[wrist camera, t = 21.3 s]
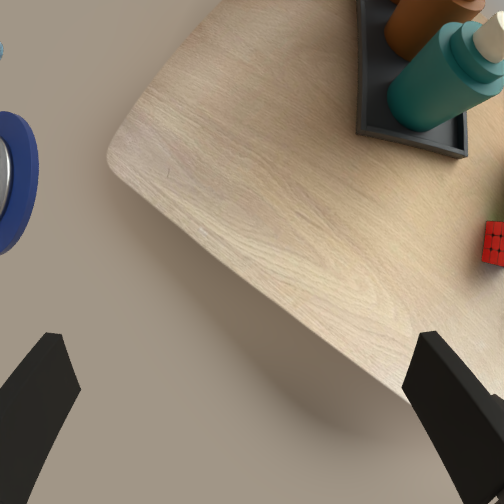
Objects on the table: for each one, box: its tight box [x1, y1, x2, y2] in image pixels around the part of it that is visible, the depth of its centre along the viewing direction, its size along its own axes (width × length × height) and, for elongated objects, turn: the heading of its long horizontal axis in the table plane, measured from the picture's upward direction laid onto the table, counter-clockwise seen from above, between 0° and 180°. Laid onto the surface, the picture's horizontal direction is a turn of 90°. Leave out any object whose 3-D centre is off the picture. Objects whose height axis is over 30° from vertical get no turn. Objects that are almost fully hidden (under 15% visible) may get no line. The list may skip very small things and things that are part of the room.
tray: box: [356, 0, 468, 159], centre depth 27 cm, size 13×28×2 cm, turn 174°
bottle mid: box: [384, 0, 485, 62], centre depth 19 cm, size 7×7×19 cm
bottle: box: [387, 11, 504, 132], centre depth 20 cm, size 7×7×19 cm
